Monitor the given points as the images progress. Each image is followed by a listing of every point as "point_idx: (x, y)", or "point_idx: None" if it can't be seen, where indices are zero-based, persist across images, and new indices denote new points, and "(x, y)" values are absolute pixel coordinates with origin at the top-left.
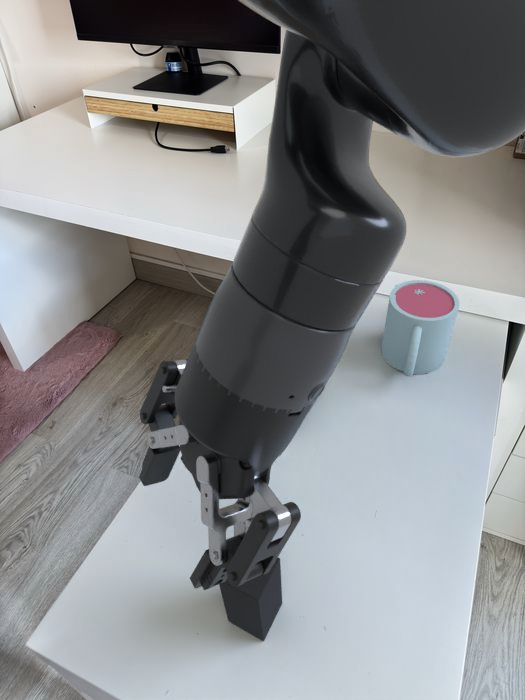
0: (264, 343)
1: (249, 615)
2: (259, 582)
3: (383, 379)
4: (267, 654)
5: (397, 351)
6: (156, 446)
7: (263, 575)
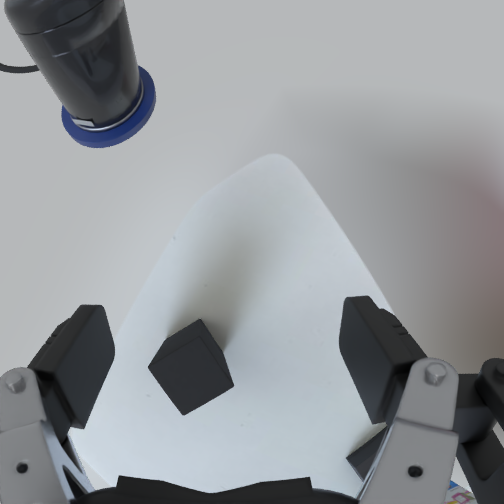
0: None
1: (169, 344)
2: (167, 379)
3: None
4: (153, 337)
5: None
6: (411, 386)
7: (172, 388)
